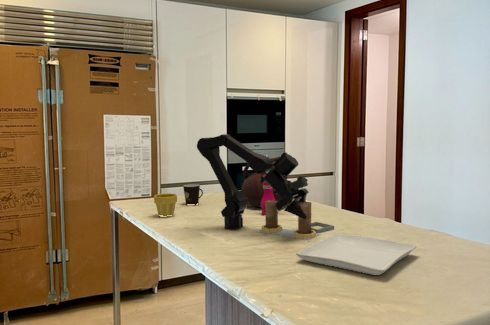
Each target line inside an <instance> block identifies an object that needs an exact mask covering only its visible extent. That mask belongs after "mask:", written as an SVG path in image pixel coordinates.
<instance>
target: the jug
mask: <svg viewBox="0 0 490 325" xmlns="http://www.w3.org/2000/svg"><path fill="white" fill-rule="evenodd" d="M280 157H281V156H277V157H273V158H272V157H271V158H270V159H271V160H272V161H277V160H278V159H279V158H280ZM249 168H250V167H249V165H248V163H247V164H246V165H245V166H244V168H243V171H242V174H243V175H242V176H243V183H242V186H241V190H243V191H244V193H245V196H246V197H247V198H248V199H247V202H248V204H249V205H251V206H253V207H256V208H262V207H261V200H262V198H263V195H264V188H263V185H264V184H263V183H262V184H261V183H260V182H261V176H264V175H265V174H266V172H264V173H260V174H258V173H256V172H254V173H252V174H251V175H249V172H248V171H249ZM273 169H274V168H271V170H270V171H272V170H273ZM283 177H284V178H285V179H286V181H289V179H288V176H286V175H284V176H283ZM274 192H275V191H274V189H273V195H274V198H275V200H276V201H277V202H278V201H279V200H280V199H281V197H280V196H279V195H278V194H276V195H275V194H274Z"/></svg>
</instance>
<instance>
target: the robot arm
mask: <svg viewBox="0 0 490 325" xmlns="http://www.w3.org/2000/svg"><path fill="white" fill-rule="evenodd" d="M220 147H225V149H228V150H229V151H231V152H232V153H233V154H235V155H236V156H238V157H240V158H241V159H242V160H243V161H245V162H246V163H247V164H248V165H249V168H250V169H251V170H252V171H253V172H254V173H258V174H260V173H264V172H268V171H269V172H268V173H267V174H266V175H265V176H261V182H260V183H261V184H262V183H266V182H267V183H268V184H269V185H270V186H271V187H272V188H273V189H274V191H275V192H274V194H275V195H276V194H278V195H279V196H280V197H281V199H280V200H279V201H278V202H277V203H276V204H275V208H276V209H277V210H278V212H281V211H284V212H287V213H290V214H291V215H295V216H296V217H301V218H303V219H306V218H307V217H306V215H305V213H304V212H303V211H302V209H301V208H300V206H299V205H298V203H299V202H307V201H306V200H307V195H308V194H309V191H308V189H307V188H304V187H307V186H309V183H308V179H307V178H306V177H305V176H303V175H301V176H298V177H296V180H294V181H291V180H288V181H286V179H285V178H284V177H283V176H284V175H286V176H287V177H288V176H289V175H290V174H291V173H292V172H293V171H294V170H295V169H296V168H297V167H298V166H299V162H298V161H297V159H296V158H295V157H294V156H292V155H291V154H290V153H289V154H288V153H287V151H285V152H283V153H281V155H280V156H279V157H280V158H279V159H278V160H277V161H272V160H271V158H270V157H268V156H266V155H264V154H261V153H258V152H255V151H253V150H251V149H250V148H248V147H247V146H245V145H244V144H243V143H241V142H240V141H238V140H236V139H235V138H233V137H232V135H230V134H227V133H224V134H220V135H217V136H214V137H212V136H211V137H210V136H209V137H200V138H199V139H198V141H197V143H196V148H197V151H198V152H199V153H200V155H201V156H202V157H204V159H206V161H208V163H209V165H210V167H211V168H212V171H213V173H214V175H215V176H216V180H217V181H218V183H219V185H220V187H221V189H222V191H223V193H224V203H225V207H223V209H222V210H221V211H220V214H221V216H222V217H223V218H224V220H223V221H224V222H223V223H224V229H225V230H228V231H231V230H233V231H235V230H240V229H241V228H243V227H244V218H243V214H244V213H245V210H246V209H247V207H248V204H249V203H248V202H247V199H248V198H247V197H246V196H245V193H244V191H243V190H242V189H240V190H239V189H238V188H237V187H236V186H235V183H234V181H233V179H232V177H231V175H230V174H229V172H228V170H227V166H226V165H225V163H224V161H223V159H222V158H221V155H220V154H221V153H220V151H221V150H220ZM271 168H274V169H273V170H272V171H270V170H271ZM284 207H285V208H284ZM311 216H312V213H311Z"/></svg>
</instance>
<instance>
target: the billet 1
mask: <svg viewBox="0 0 490 325" xmlns="http://www.w3.org/2000/svg"><path fill="white" fill-rule="evenodd" d="M276 203H277V201H274V200H270V201H265V215H264V216H265V225H266V228H278V225H279V224H278V223H279V222H278V221H279V218H278V217H279V214H278V213H279V211H278V210H277V209H276V208H275V204H276Z"/></svg>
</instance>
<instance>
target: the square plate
mask: <svg viewBox="0 0 490 325" xmlns="http://www.w3.org/2000/svg"><path fill="white" fill-rule="evenodd" d="M416 248H417V246H416V245H414V244H408V243H403V242H399V241H398V242H397V241H393V240H387V239H383V238H382V239H381V238H375V237H369V236H361V235H356V234H355V235H353V234H345V233H335V234H332V235H331V236H330V235H329V236H328V237H326V238H323V239H322V240H319V241H317V242H315V243H313V244H311V245H309V246H306V247H304V248H302V249H300V250H299V251H297V252H296V253H295V255H296V256H298V257H299V258H300V259H302V260H303V261H307V262H309V263H310V262H311V263H315V264H320V265H323V264H324V266H329V267H332V266H334V267H333V268H337V267H339V268H338V269H342V268H343V269H342V270H347V269H348V271H351V270H353V271H352V272H356V271H357V273H361V272H362V274H367V275H371V276H372V275H374V276H379V275H382V274H383V273H385V272H386V271H388V269H390V268H391V267H392V266H393V265H394V264H396V263H397V262H399V261H400V260H402V259H404V258H405V257H407V256H408V255H409V254H410V253H411V252H412V251H413V250H415V249H416Z"/></svg>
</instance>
